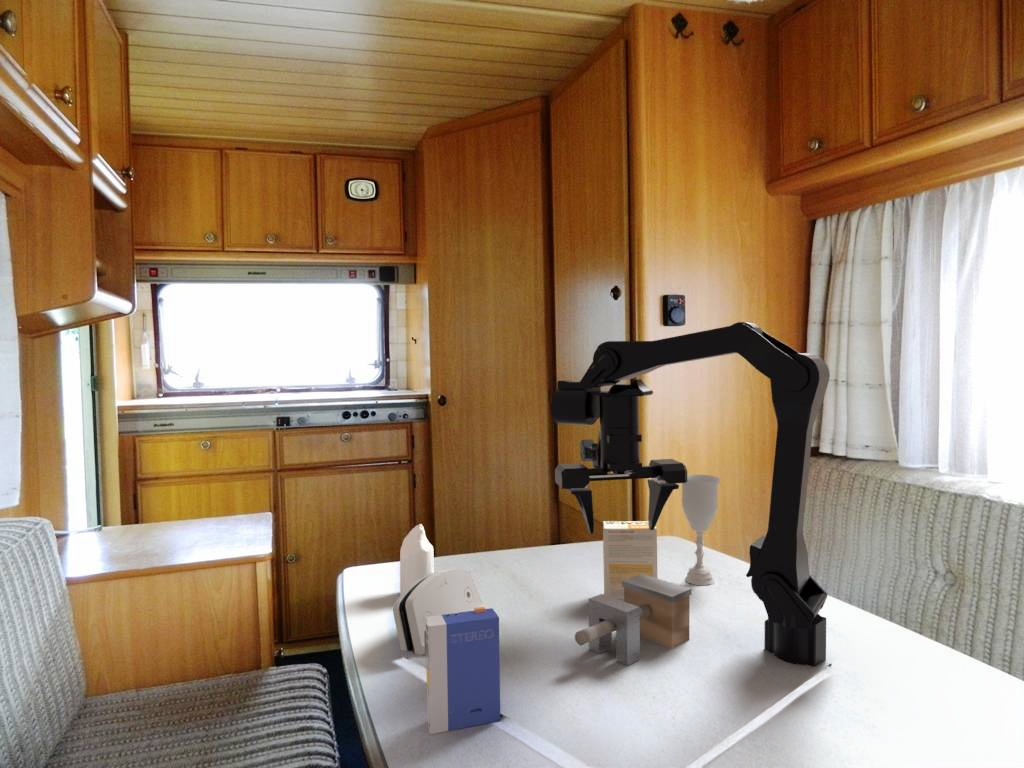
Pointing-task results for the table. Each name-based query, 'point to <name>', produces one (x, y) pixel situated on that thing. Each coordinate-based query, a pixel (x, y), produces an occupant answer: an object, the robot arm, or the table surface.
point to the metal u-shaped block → (625, 623)
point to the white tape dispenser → (432, 604)
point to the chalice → (700, 519)
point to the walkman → (462, 669)
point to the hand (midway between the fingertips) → (621, 531)
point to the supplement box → (627, 554)
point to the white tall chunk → (415, 558)
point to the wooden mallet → (651, 612)
